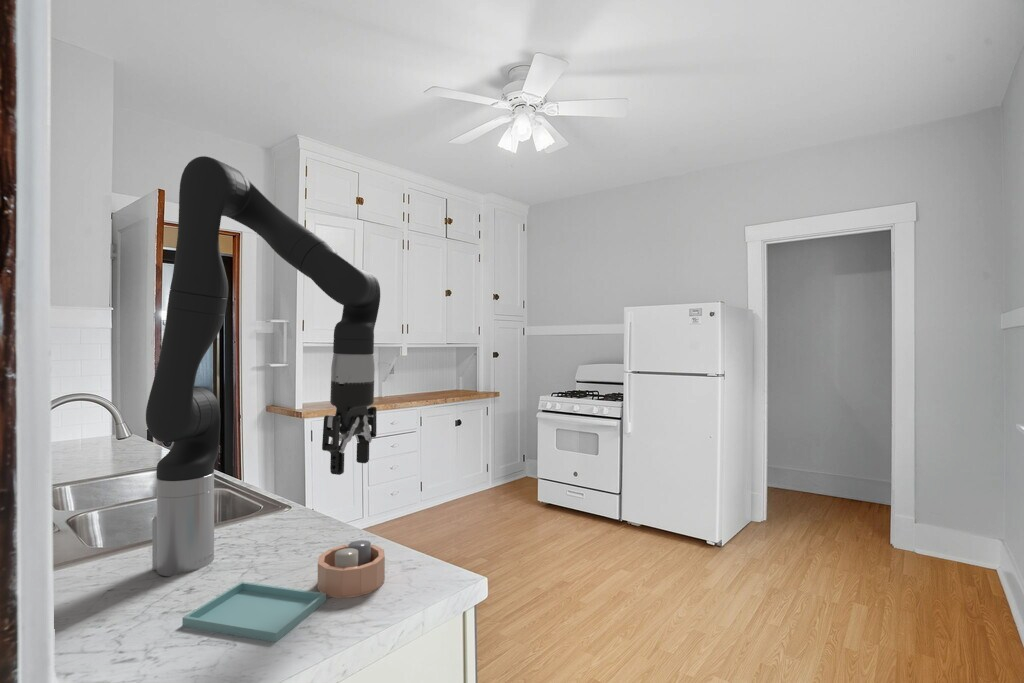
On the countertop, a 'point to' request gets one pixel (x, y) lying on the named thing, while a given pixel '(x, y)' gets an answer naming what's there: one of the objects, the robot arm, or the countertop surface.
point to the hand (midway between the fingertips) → (350, 468)
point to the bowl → (350, 574)
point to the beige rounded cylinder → (346, 558)
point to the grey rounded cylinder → (362, 551)
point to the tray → (255, 611)
